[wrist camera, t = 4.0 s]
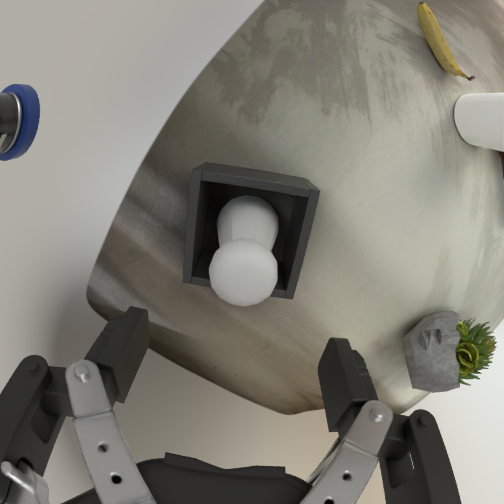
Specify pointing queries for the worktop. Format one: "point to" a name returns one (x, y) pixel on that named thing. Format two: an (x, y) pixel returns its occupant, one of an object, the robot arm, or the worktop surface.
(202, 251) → the holder
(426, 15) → the banana
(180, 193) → the worktop surface
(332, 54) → the worktop surface
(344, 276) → the worktop surface
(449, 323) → the potted plant
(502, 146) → the can
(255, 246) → the salt shaker
